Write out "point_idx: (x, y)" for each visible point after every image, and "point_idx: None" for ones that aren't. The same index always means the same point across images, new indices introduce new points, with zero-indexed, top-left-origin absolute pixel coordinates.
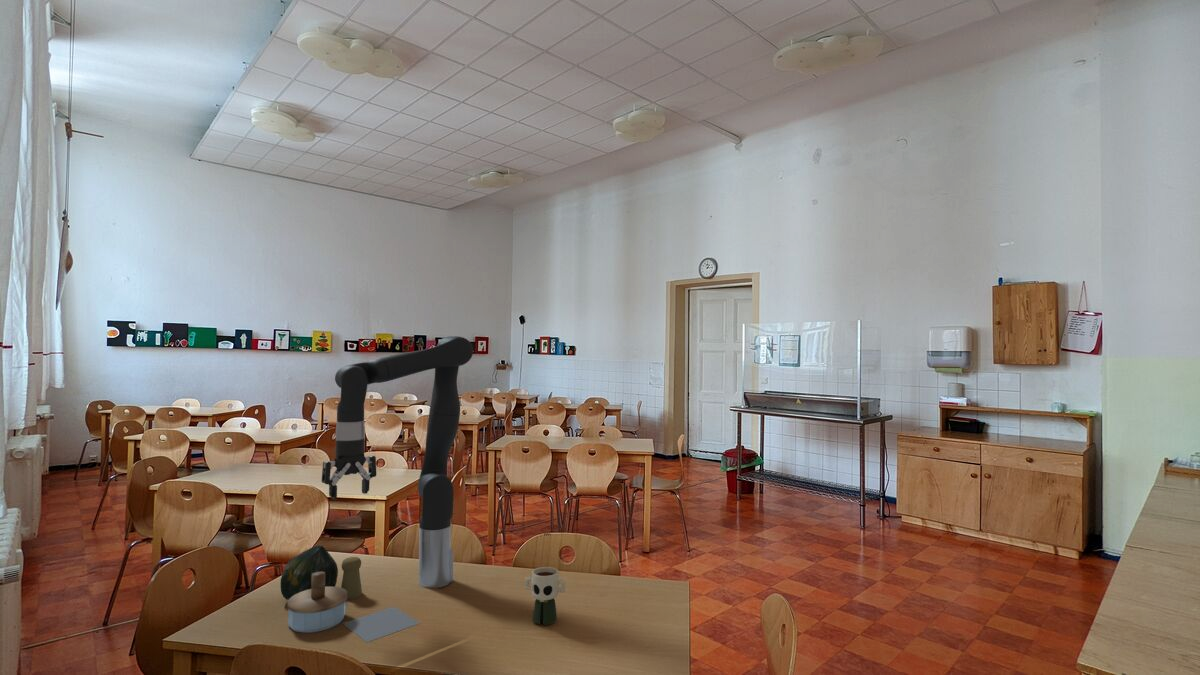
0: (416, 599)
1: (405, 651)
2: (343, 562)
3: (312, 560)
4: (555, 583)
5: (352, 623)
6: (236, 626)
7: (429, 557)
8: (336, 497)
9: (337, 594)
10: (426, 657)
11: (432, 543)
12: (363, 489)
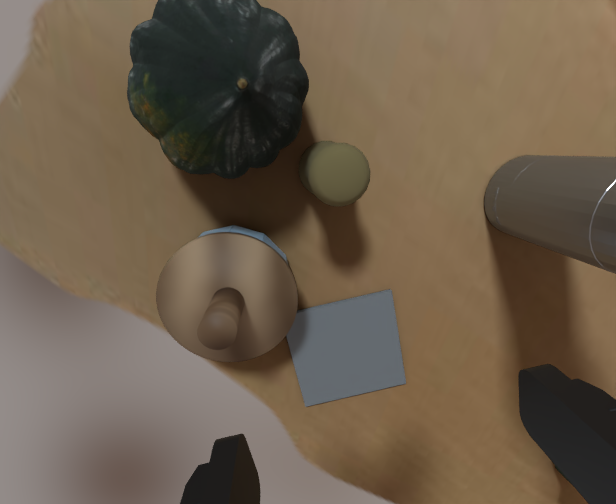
0: (446, 266)
1: (352, 446)
2: (313, 182)
3: (212, 141)
4: None
5: (298, 327)
6: (67, 202)
7: (553, 248)
8: (256, 499)
9: (273, 308)
10: (372, 473)
11: (598, 266)
12: (549, 423)
